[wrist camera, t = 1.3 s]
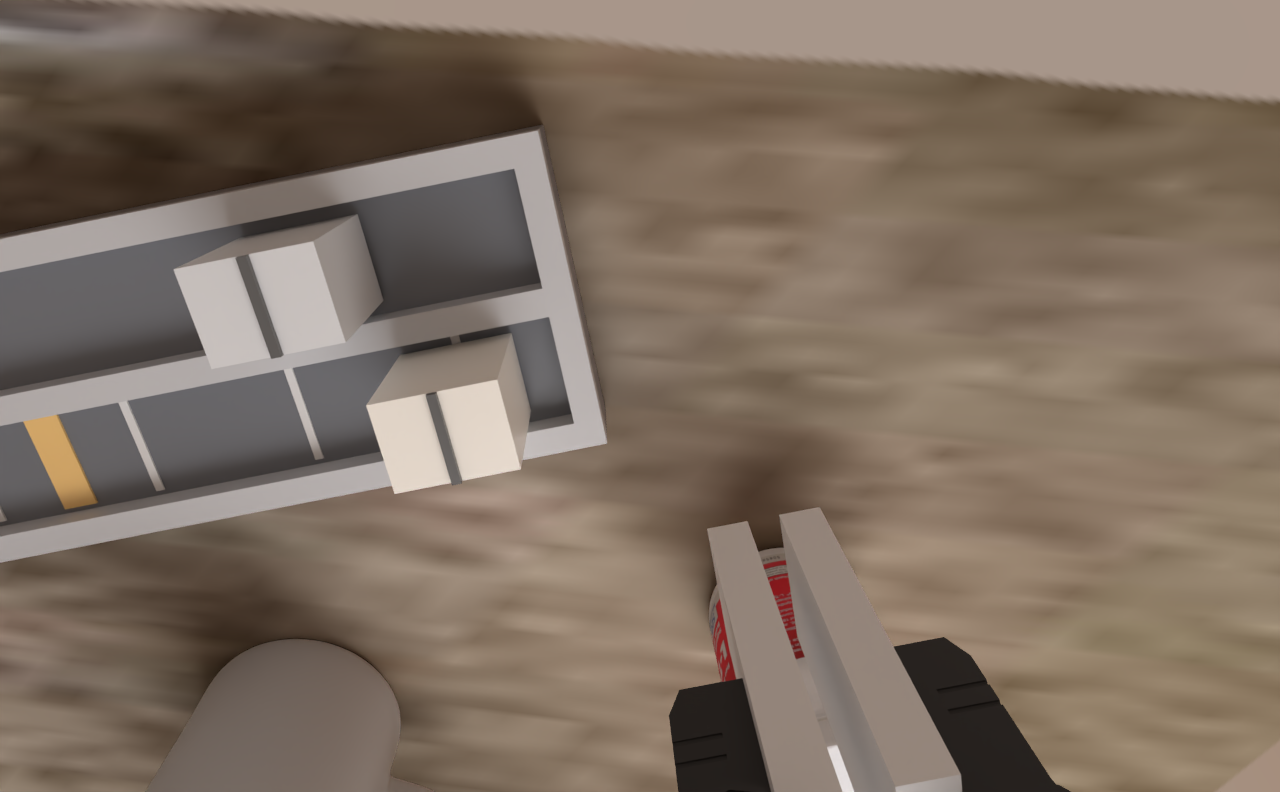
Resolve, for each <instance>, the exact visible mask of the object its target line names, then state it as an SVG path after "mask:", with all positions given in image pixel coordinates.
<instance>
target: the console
mask: <svg viewBox="0 0 1280 792" xmlns="http://www.w3.org/2000/svg"><path fill="white" fill-rule="evenodd" d="M355 214H358V217H359V221H360V224H361V227H362V230H363V234H364V237H365V240H366V244H367V247H368V250H369V254H370V257H371V260H372V264H373V267H374V270H375V274H376V277H377V280H378V284H379V287H380V290H381V294H382V297H383V300H384V301H383V302H382V303H381V304H380V305H379V306H378V307H377V308H376V310H375V311H374V312H373V313H372V314H371V315H370V316H369V317H368V318H367V320H366V321H365V322H364V323H363V324H362V325H361V326H360V327H359V328H358V330H357V331H356V332H355V333H354V334H353V335H352V336H351V337H350V338H349V340H348V341H347V342H346V343H341V344H336V345H331V346H326V347H321V348H316V349H311V350H306V351H301V352H296V353H291V354H286V355H283V356H282V357H279V358H274V359H271V358H266V359H260V360H255V361H250V362H245V363H240V364H235V365H230V366H225V367H220V368H215V369H211V366H210V364H209V361H208V358H207V356H206V353H205V351H204V348H203V345H202V343H201V340H200V338H199V335H198V332H197V330H196V327H195V325H194V322H193V319H192V317H191V314H190V311H189V309H188V306H187V304H186V301H185V298H184V296H183V293H182V291H181V288H180V285H179V283H178V280H177V278H176V275H175V272H174V270H173V269H175V268H177V267H179V266H182V265H184V264H186V263H188V262H190V261H192V260H194V259H196V258H198V257H200V256H203V255H205V254H207V253H209V252H211V251H213V250H215V249H217V248H219V247H222V246H224V245H226V244H228V243H230V242H232V241H234V240H236V239H238V238H241V237H246V236H251V235H256V234H261V233H266V232H271V231H276V230H281V229H286V228H291V227H296V226H301V225H306V224H311V223H316V222H321V221H326V220H331V219H336V218H341V217H346V216H351V215H355ZM508 333H512V337H513V341H514V345H515V349H516V353H517V357H518V361H519V365H520V369H521V373H522V377H523V381H524V385H525V389H526V393H527V397H528V401H529V405H530V409H531V414H530V419H529V425H528V431H527V437H526V442H525V448H524V454H523V460H526V459H531V458H536V457H541V456H546V455H551V454H556V453H561V452H566V451H571V450H577V449H582V448H587V447H592V446H597V445H602V444H607V429H606V409H605V404H604V400H603V395H602V391H601V386H600V382H599V377H598V372H597V368H596V363H595V359H594V354H593V350H592V345H591V341H590V336H589V331H588V327H587V322H586V318H585V313H584V309H583V304H582V299H581V295H580V290H579V286H578V281H577V277H576V272H575V268H574V263H573V258H572V254H571V249H570V245H569V240H568V236H567V231H566V226H565V222H564V217H563V213H562V208H561V204H560V199H559V194H558V190H557V185H556V181H555V176H554V172H553V167H552V163H551V158H550V153H549V149H548V144H547V140H546V135H545V131H544V126H543V125H538V126H533V127H528V128H523V129H518V130H514V131H509V132H504V133H499V134H494V135H489V136H484V137H479V138H474V139H469V140H464V141H459V142H454V143H449V144H444V145H439V146H434V147H429V148H424V149H420V150H415V151H410V152H405V153H400V154H395V155H390V156H385V157H380V158H375V159H370V160H365V161H360V162H355V163H350V164H345V165H340V166H335V167H330V168H326V169H321V170H316V171H311V172H306V173H301V174H296V175H291V176H286V177H281V178H276V179H271V180H266V181H261V182H256V183H251V184H246V185H241V186H236V187H232V188H227V189H222V190H217V191H212V192H207V193H202V194H197V195H192V196H187V197H182V198H177V199H172V200H167V201H162V202H157V203H152V204H147V205H142V206H138V207H133V208H128V209H123V210H118V211H113V212H108V213H103V214H98V215H93V216H88V217H83V218H78V219H73V220H68V221H63V222H58V223H53V224H48V225H44V226H39V227H34V228H29V229H24V230H19V231H14V232H9V233H4V234H0V563H1V562H6V561H11V560H16V559H21V558H26V557H31V556H36V555H42V554H47V553H52V552H57V551H62V550H67V549H72V548H77V547H82V546H87V545H92V544H98V543H103V542H108V541H113V540H118V539H123V538H128V537H133V536H138V535H143V534H149V533H154V532H159V531H164V530H169V529H174V528H179V527H184V526H189V525H194V524H199V523H205V522H210V521H215V520H220V519H225V518H230V517H235V516H240V515H245V514H250V513H256V512H261V511H266V510H271V509H276V508H281V507H286V506H291V505H296V504H301V503H307V502H312V501H317V500H322V499H327V498H332V497H337V496H342V495H347V494H352V493H357V492H363V491H368V490H373V489H378V488H383V487H388V486H392V484H391V481H390V478H389V475H388V472H387V469H386V466H385V463H384V459H383V456H382V453H381V450H380V447H379V444H378V441H377V438H376V435H375V432H374V428H373V425H372V422H371V419H370V416H369V413H368V410H367V407H366V405H367V403H368V402H369V400H370V399H371V397H372V396H373V394H374V393H375V392H376V390H377V389H378V387H379V386H380V384H381V383H382V381H383V380H384V378H385V377H386V375H387V374H388V372H389V371H390V369H391V368H392V366H393V365H394V363H395V362H396V360H397V359H398V357H399V356H400V355H402V354H407V353H412V352H417V351H422V350H427V349H432V348H438V347H443V346H448V345H453V344H458V343H463V342H468V341H473V340H478V339H483V338H488V337H493V336H498V335H503V334H508Z"/></svg>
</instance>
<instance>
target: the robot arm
mask: <svg viewBox="0 0 1280 792" xmlns="http://www.w3.org/2000/svg"><path fill="white" fill-rule="evenodd" d="M779 518H780V524H781V531H782V537H783V544H784V551H785V557H786V564H787V571H788V577H789V584H790V591H791V597H792V604H793V611H794V617H795V624H796V631H797V637H798V640H799V642H800V645H801V648H802V651H803V653H804V656H805V659H806V661H807V664H808V667H809V670H810V672H811V675H812V678H813V680H814V683H815V686H816V689H817V691H818V694H819V697H820V700H821V702H822V705H823V708H824V710H825V713H826V716H827V719H828V721H829V724H830V727H831V729H832V732H833V735H834V738H835V740H836V743H837V746H838V748H839V751H840V754H841V757H842V759H843V762H844V765H845V768H846V770H847V773H848V776H849V778H850V781H851V784H852V787H853V789H854V792H1070V791H1069V790H1067V789H1065V788H1063V787H1062V786H1060V785H1056V784H1055V783H1054V781H1053V780H1052V779H1051V778H1050V776H1049V775H1048V773H1047V772H1046V770H1045V769H1044V767H1043V766H1042V764H1041V763H1040V761H1039V760H1038V758H1037V757H1036V755H1035V753H1034V752H1033V750H1032V749H1031V747H1030V746H1029V744H1028V743H1027V741H1026V740H1025V738H1024V737H1023V735H1022V734H1021V732H1020V730H1019V729H1018V727H1017V726H1016V724H1015V723H1014V721H1013V720H1012V718H1011V717H1010V715H1009V714H1008V712H1007V711H1006V709H1005V707H1004V706H1003V705H1001V704H1000V700H999V698H998V697H997V695H996V694H995V692H994V691H993V689H992V688H991V686H990V685H988V684H987V680H986V678H985V677H984V675H983V674H982V672H981V671H980V669H979V668H978V666H977V665H976V663H975V661H974V660H973V658H972V657H971V656H970V655H969V654H968V653H966V652H965V651H963V650H962V649H960V648H959V647H957V646H956V645H954V644H953V643H951V642H950V641H949V640H947V639H946V638H944V637H942V638H937V639H932V640H927V641H921V642H916V643H911V644H906V645H900V646H895V647H893V645H892V643H891V641H890V639H889V637H888V635H887V634H886V632H885V630H884V628H883V626H882V624H881V622H880V620H879V618H878V617H877V615H876V613H875V611H874V609H873V607H872V605H871V603H870V601H869V599H868V598H867V596H866V594H865V592H864V590H863V588H862V586H861V584H860V582H859V581H858V579H857V577H856V575H855V573H854V571H853V569H852V567H851V565H850V564H849V562H848V560H847V558H846V556H845V554H844V552H843V550H842V548H841V546H840V545H839V543H838V541H837V539H836V537H835V535H834V533H833V531H832V529H831V528H830V526H829V524H828V522H827V520H826V518H825V516H824V514H823V512H822V511H821V509H820V507H817V508H812V509H807V510H801V511H796V512H791V513H786V514H781V515H779ZM707 531H708V537H709V542H710V548H711V553H712V559H713V564H714V569H715V575H716V580H717V586H718V591H719V596H720V602H721V607H722V613H723V618H724V624H725V629H726V634H727V640H728V645H729V650H730V655H731V659H732V663H733V667H734V671H735V675H736V679H735V680H730V681H724V682H719V683H714V684H709V685H704V686H698V687H693V688H688V689H683V690H679V693H678V695H677V697H676V700H675V702H674V705H673V707H672V710H671V712H670V715H669V718H670V727H671V735H672V743H673V751H674V759H675V766H676V775H677V783H678V791H679V792H842V789H841V786H840V783H839V780H838V777H837V775H836V772H835V769H834V766H833V763H832V760H831V758H830V755H829V752H828V749H827V746H826V743H825V740H824V738H823V735H822V732H821V729H820V726H819V723H818V721H817V718H816V715H815V712H814V709H813V706H812V703H811V701H810V698H809V695H808V692H807V689H806V686H805V683H804V681H803V678H802V675H801V672H800V669H799V666H798V664H797V661H796V658H795V655H794V652H793V649H792V646H791V644H790V641H789V638H788V635H787V632H786V629H785V627H784V624H783V621H782V618H781V615H780V612H779V609H778V607H777V604H776V601H775V598H774V595H773V592H772V589H771V587H770V584H769V581H768V578H767V575H766V572H765V570H764V567H763V564H762V561H761V558H760V555H759V552H758V550H757V547H756V544H755V541H754V538H753V535H752V533H751V530H750V527H749V524H748V521H745V522H740V523H734V524H729V525H724V526H719V527H714V528H709V529H707Z"/></svg>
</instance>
